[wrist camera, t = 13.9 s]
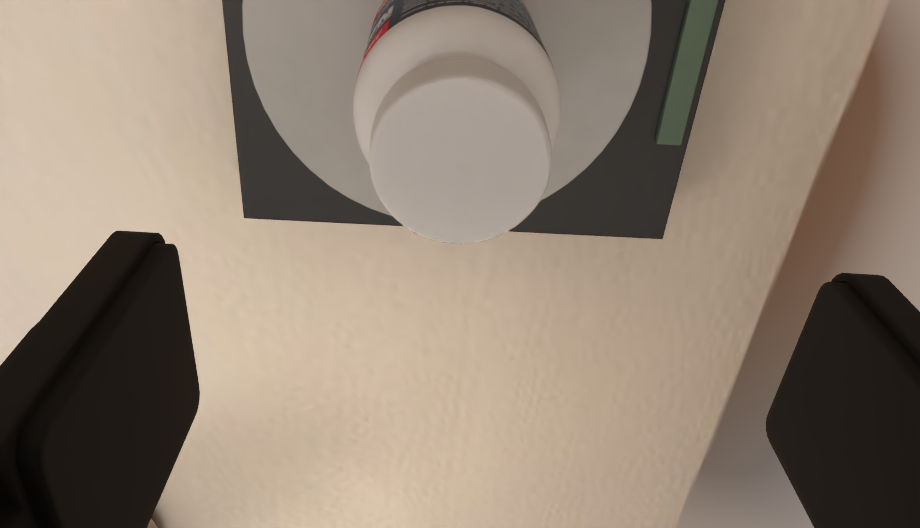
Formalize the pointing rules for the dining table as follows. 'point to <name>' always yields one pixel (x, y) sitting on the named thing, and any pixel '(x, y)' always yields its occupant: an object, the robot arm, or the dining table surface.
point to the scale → (581, 121)
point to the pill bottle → (457, 115)
